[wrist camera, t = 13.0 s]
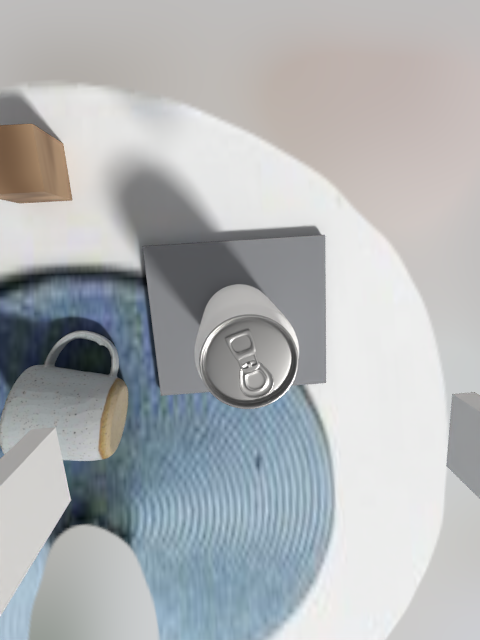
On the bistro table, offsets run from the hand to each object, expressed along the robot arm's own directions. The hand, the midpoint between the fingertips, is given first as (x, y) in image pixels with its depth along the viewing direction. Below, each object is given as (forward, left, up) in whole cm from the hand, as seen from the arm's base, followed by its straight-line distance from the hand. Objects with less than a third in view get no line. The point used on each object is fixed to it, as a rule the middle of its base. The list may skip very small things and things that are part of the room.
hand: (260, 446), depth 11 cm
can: (0, 0, -20) cm, 20 cm away
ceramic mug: (-15, -5, -21) cm, 26 cm away
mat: (0, 0, -21) cm, 21 cm away
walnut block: (-16, +14, -21) cm, 30 cm away
